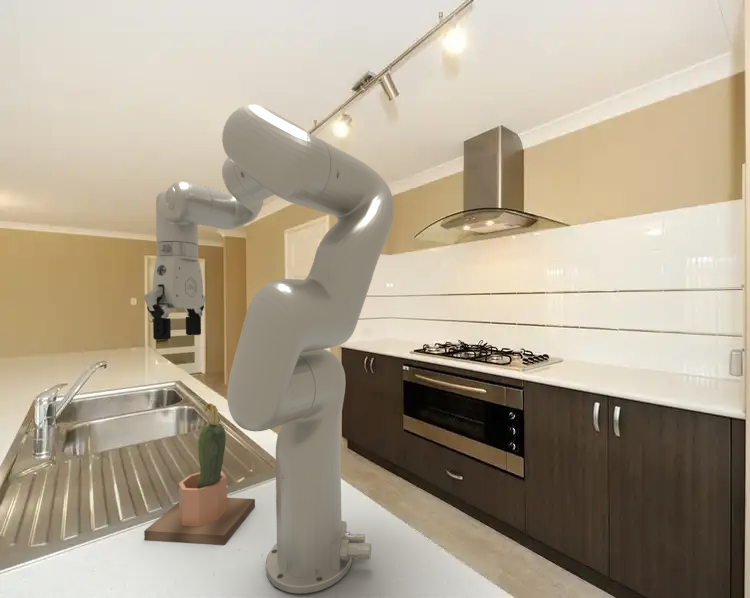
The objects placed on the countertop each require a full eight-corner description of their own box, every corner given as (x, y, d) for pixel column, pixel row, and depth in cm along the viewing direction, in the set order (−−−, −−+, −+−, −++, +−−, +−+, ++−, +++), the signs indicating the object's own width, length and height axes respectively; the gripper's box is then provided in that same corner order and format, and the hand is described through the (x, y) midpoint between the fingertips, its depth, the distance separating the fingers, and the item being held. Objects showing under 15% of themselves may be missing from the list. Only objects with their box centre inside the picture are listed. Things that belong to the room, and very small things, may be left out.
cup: (232, 503, 68) (232, 471, 68) (210, 527, 61) (210, 490, 61) (196, 501, 69) (196, 469, 69) (171, 524, 61) (170, 489, 62)
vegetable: (221, 501, 67) (234, 400, 64) (211, 519, 63) (224, 411, 60) (196, 498, 67) (208, 396, 64) (185, 515, 62) (197, 407, 60)
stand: (254, 506, 69) (254, 498, 69) (224, 544, 58) (224, 535, 58) (186, 503, 71) (186, 495, 71) (144, 539, 60) (144, 530, 60)
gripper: (165, 246, 65) (166, 341, 65) (218, 258, 83) (219, 333, 82) (127, 247, 66) (128, 341, 66) (187, 259, 83) (188, 333, 83)
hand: (178, 337), depth 74 cm, fingers open, 9 cm apart
